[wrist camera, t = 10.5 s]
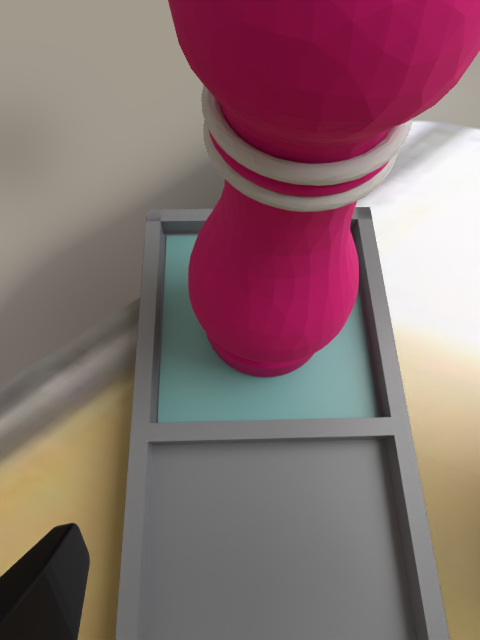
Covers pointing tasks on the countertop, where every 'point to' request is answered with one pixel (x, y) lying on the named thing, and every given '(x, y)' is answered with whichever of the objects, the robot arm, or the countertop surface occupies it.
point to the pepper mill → (303, 153)
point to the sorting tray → (270, 476)
